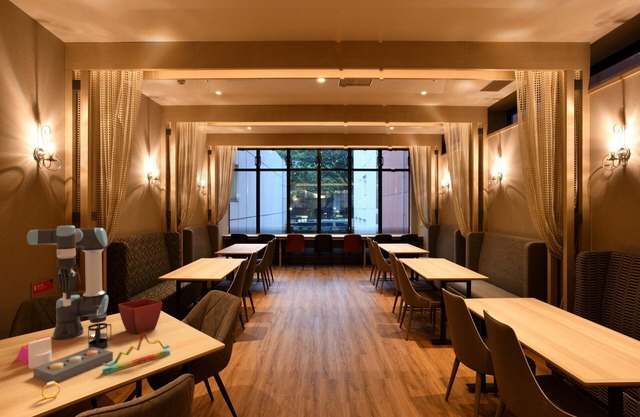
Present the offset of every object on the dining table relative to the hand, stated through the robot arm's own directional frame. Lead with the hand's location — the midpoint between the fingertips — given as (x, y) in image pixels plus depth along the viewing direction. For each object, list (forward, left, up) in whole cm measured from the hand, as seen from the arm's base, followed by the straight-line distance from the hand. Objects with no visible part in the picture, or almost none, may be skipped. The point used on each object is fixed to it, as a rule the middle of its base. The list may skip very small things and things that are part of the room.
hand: (67, 305), depth 173 cm
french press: (-9, +21, -30) cm, 37 cm away
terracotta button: (+6, +8, -28) cm, 29 cm away
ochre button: (+6, -8, -28) cm, 29 cm away
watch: (+25, -20, -30) cm, 44 cm away
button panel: (+6, 0, -29) cm, 30 cm away
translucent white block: (-14, -5, -30) cm, 33 cm away
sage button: (+6, 0, -28) cm, 28 cm away
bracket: (-27, -2, -30) cm, 40 cm away
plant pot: (-13, +50, -30) cm, 60 cm away
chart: (+29, +16, -30) cm, 45 cm away
